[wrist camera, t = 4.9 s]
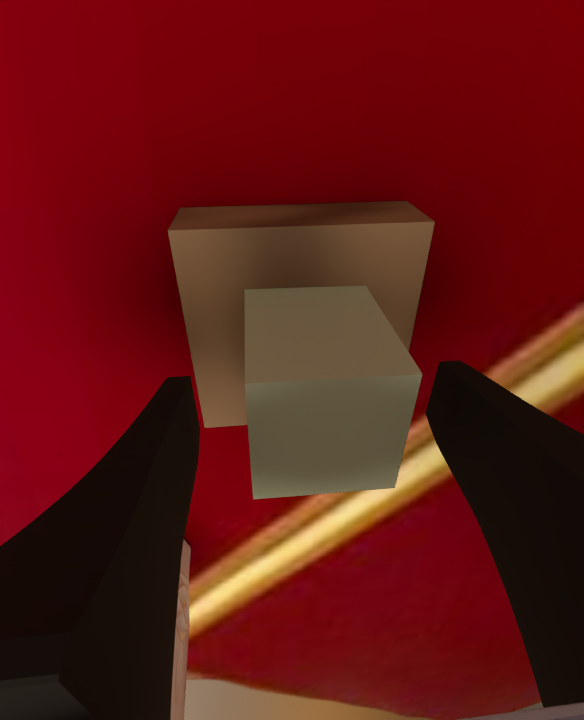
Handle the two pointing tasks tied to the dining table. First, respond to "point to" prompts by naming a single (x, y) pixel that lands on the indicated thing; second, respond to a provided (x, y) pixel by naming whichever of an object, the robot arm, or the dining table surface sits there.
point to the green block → (324, 391)
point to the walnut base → (286, 275)
